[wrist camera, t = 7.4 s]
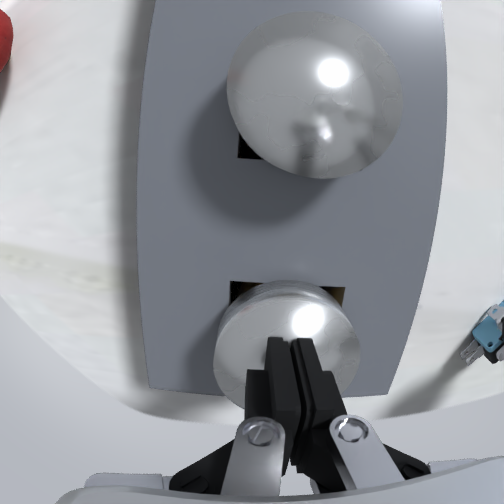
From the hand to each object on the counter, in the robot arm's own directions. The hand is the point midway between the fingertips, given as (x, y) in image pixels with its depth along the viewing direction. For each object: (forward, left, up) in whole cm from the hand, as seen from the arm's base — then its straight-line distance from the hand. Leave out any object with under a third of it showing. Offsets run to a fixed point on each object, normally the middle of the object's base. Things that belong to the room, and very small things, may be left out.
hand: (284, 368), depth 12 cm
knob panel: (0, -10, -7) cm, 12 cm away
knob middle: (0, -10, -6) cm, 12 cm away
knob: (0, 0, -6) cm, 6 cm away
